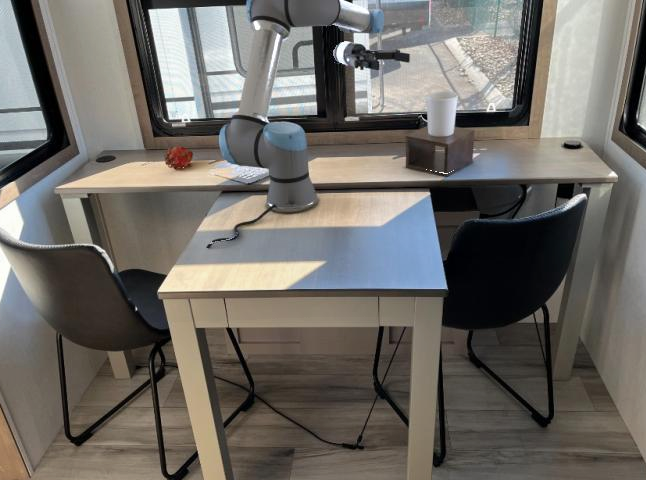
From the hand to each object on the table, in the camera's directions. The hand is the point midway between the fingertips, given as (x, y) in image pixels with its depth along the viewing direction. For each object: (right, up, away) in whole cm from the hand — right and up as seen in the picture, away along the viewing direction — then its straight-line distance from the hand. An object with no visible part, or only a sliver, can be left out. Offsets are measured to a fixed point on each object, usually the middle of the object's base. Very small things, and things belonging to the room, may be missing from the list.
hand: (394, 61), depth 193 cm
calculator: (-51, -35, +9) cm, 62 cm away
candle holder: (+15, -24, -1) cm, 28 cm away
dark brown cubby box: (+16, -33, +5) cm, 36 cm away
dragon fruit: (-74, -30, +18) cm, 82 cm away
